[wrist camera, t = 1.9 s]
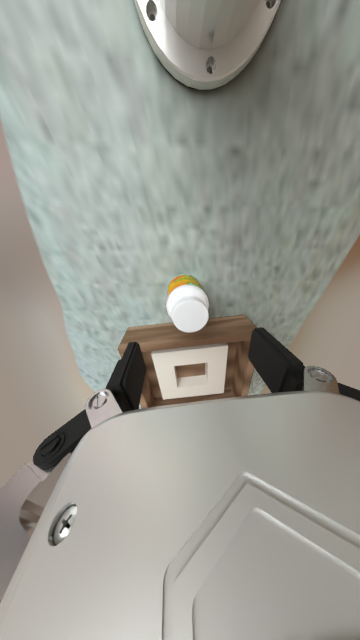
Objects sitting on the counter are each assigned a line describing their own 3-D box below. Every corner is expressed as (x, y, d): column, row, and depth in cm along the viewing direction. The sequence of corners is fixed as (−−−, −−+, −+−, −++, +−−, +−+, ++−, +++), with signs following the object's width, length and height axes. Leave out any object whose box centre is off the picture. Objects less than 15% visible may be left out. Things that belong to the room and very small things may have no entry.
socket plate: (152, 345, 28) (151, 354, 25) (223, 337, 28) (228, 345, 25) (163, 389, 34) (163, 399, 32) (220, 383, 34) (223, 393, 32)
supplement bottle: (200, 273, 22) (219, 293, 14) (198, 304, 25) (212, 337, 17) (167, 273, 22) (164, 293, 14) (168, 305, 25) (166, 338, 16)
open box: (128, 327, 27) (117, 348, 21) (244, 314, 27) (262, 332, 21) (151, 397, 37) (147, 422, 32) (233, 388, 37) (243, 412, 32)
